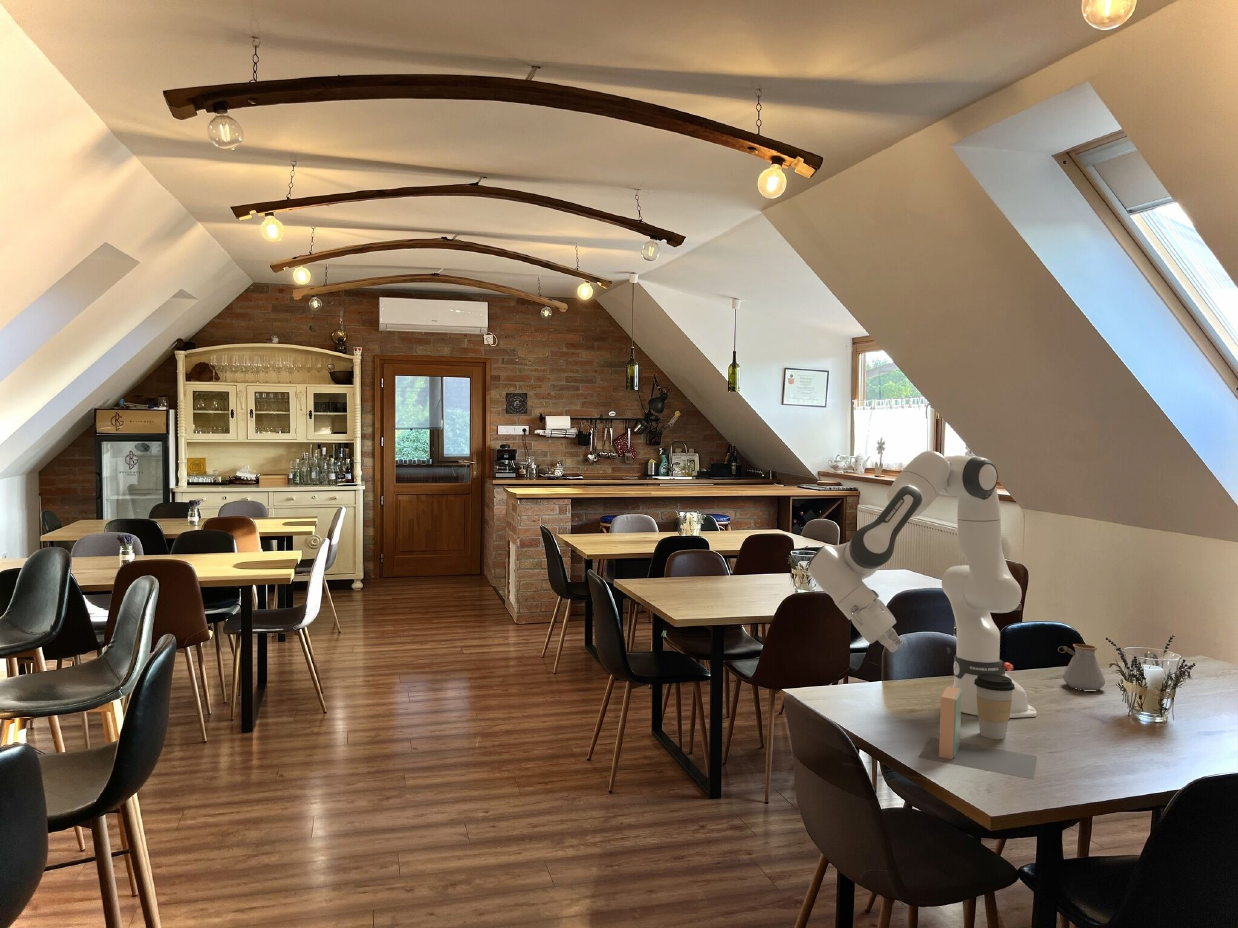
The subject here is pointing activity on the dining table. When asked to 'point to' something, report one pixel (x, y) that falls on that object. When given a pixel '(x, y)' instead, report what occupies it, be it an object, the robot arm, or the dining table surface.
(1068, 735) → the dining table surface
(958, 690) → the block
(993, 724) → the coffee cup
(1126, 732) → the dining table surface
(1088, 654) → the coffee pot
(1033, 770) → the mat
